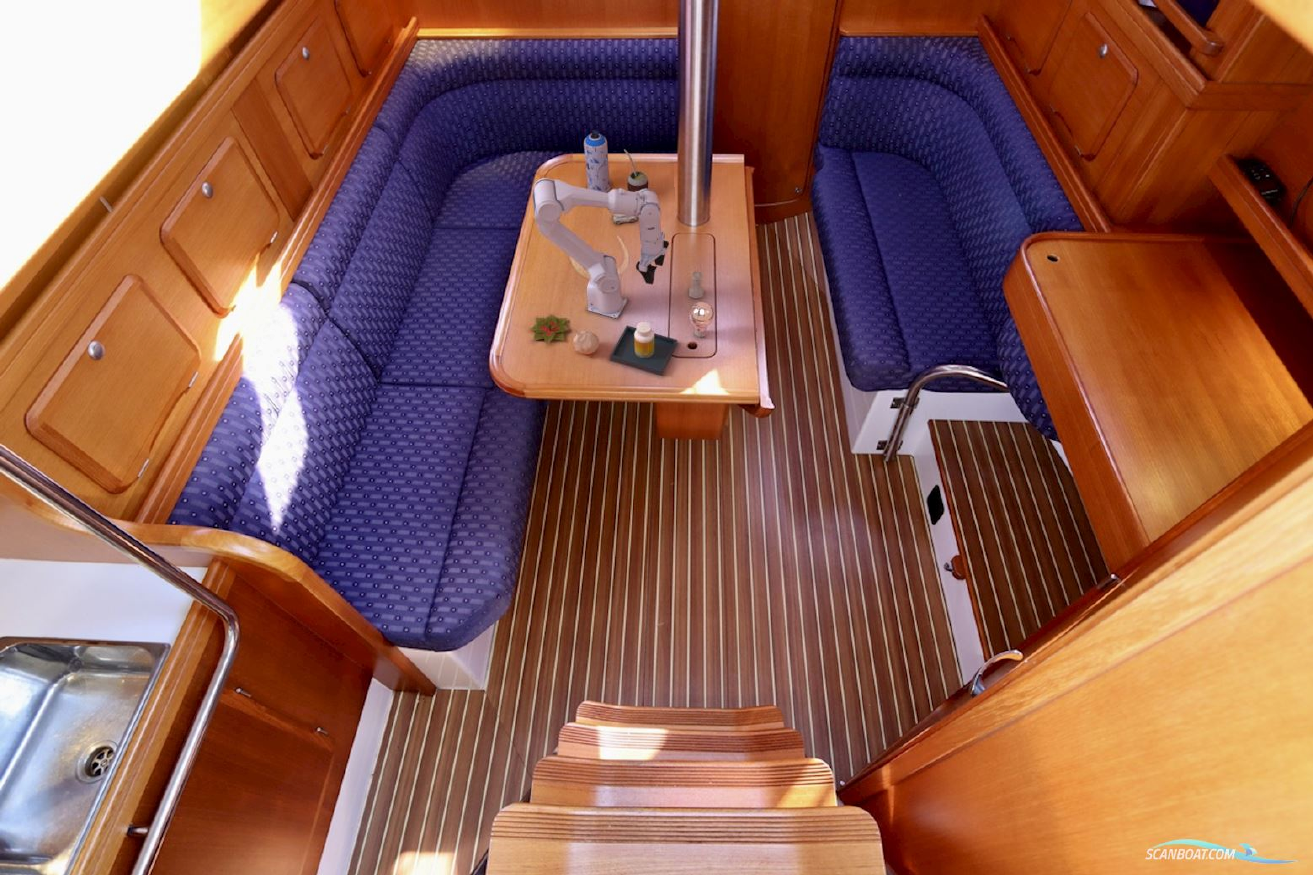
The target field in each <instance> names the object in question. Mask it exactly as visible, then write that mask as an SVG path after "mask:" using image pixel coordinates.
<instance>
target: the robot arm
mask: <svg viewBox="0 0 1313 875" xmlns="http://www.w3.org/2000/svg"><path fill="white" fill-rule="evenodd" d="M532 188H533V189H532V196H531V198H532V204H533V214H534V219H535V222H536V226H537V230H538V232H539V233H540V234H541V236H543V237H545V239H547V240H548V241H549V242H551V243H552V244H553V245H555V246H556V247H557V248H559V249H560V250H561V251H562V252H564V253H565V254H566V255H567V256H568V257H570V258H571V259H573V260H574V261H575V262H577V264H579V265H580V266H581V267H583V268H584V270H586V271H587V272H588V274H589V276H590V279H589V281H588V283H587V287H586V297H587V311H589V312H592V313H595V314H599V315H603V316H607V317H610V318H614V319H617V318H619V316H620V314H621V312H622V310H623V309H624V308H625V306H626V304H627V302H628V299H627V298H623V297H622V284H621V278H620V276H619V271H618V265H617V259H616V258H615V257H614V256H613V255H611V254H608V253H605V252H603V251H602V250H598V251H596V250H595V249H594V248H593V247H591V245H589V244H588V243H587V242H585V241H584V240H583V239H582V238H581V237H580V236H578V235H577V234H576V233H575V232H573V231H572V230H571V229H570V228H569V227H567V226H566V225H565V224H564V223H563V222H561V221H560V219H561V217H562V215H563V213H564V216H567V215H568V214H569V213H570V212H571V211H572V210H573V209H574V207H590V208H605V209H606V210H608V212H609V213H610V214H612V215H613V214H621V215H629V216H636V217H637V218H638V222H637V224H638V230H639V239H640V254H639V255H640V256H639V257H640V259H639V260H638V261H637V262H636V264H635V269H636V271H637V272H639V273H640V275H641V276H642V278H643V280H644V282H645V284H648V285H654V283H655V273H656V270H657V268H658V266H660V267H663V266H664V264H665V263H664V262H665V257H666V254H667V250H668V247H669V245H670V242H669V241H668V240H665V238H666V231H662V224H661V216H662V210H661V205H660V202H659V199H658V195H657V193H656V192H655V191H654V190H652V189H649V188H648V189H647V188H646V189H642V190H640V191H636V192H631V191H628V190H625V189H624V188H622V187H620V188H619V189H617V188H612V189H610V190H609V191H608V192H606V193H605V192H600V191H595V190H591V189H588V188H585V187H581V186H576V185H571V184H569V183H567V182H565V181H563V180H561V179H553V178H549V177H543V178H540V179H538V180H536V182H535V183H534V185H533V187H532ZM653 262H654V265H652V263H653Z"/></svg>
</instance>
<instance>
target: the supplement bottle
mask: <svg viewBox="0 0 1313 875" xmlns="http://www.w3.org/2000/svg"><path fill="white" fill-rule="evenodd" d="M636 328H637V330H636V331H635V333H634V340H635V353H636V355H637V356H639V357H641V358H648V357H650V356H652V355H653V353H654V333H655V332H654V330H653V327H652V325H651V323H649V321H641V322H639V323H637V325H636Z"/></svg>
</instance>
